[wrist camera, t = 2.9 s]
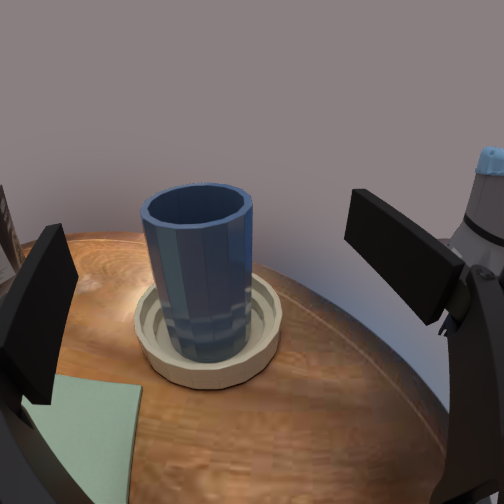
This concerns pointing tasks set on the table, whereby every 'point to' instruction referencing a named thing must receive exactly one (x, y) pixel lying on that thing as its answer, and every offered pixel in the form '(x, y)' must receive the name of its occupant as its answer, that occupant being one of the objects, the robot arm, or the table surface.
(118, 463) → the mat
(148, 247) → the tumbler
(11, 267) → the coffee box
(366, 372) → the table surface
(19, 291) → the robot arm
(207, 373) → the bowl
